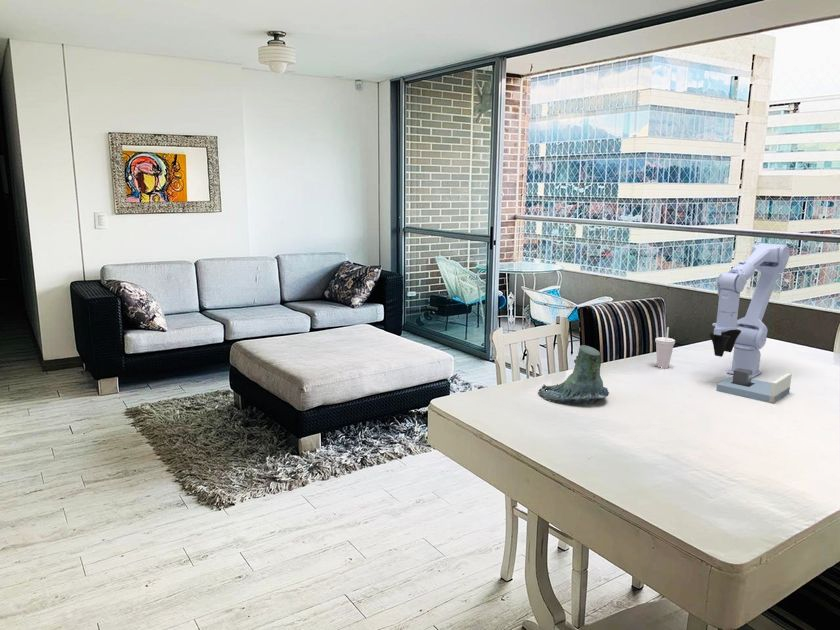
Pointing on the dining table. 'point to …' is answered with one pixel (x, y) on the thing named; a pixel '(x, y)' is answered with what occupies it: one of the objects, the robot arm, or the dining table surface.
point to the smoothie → (664, 350)
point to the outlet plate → (759, 388)
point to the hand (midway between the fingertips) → (723, 353)
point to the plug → (742, 377)
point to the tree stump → (580, 381)
